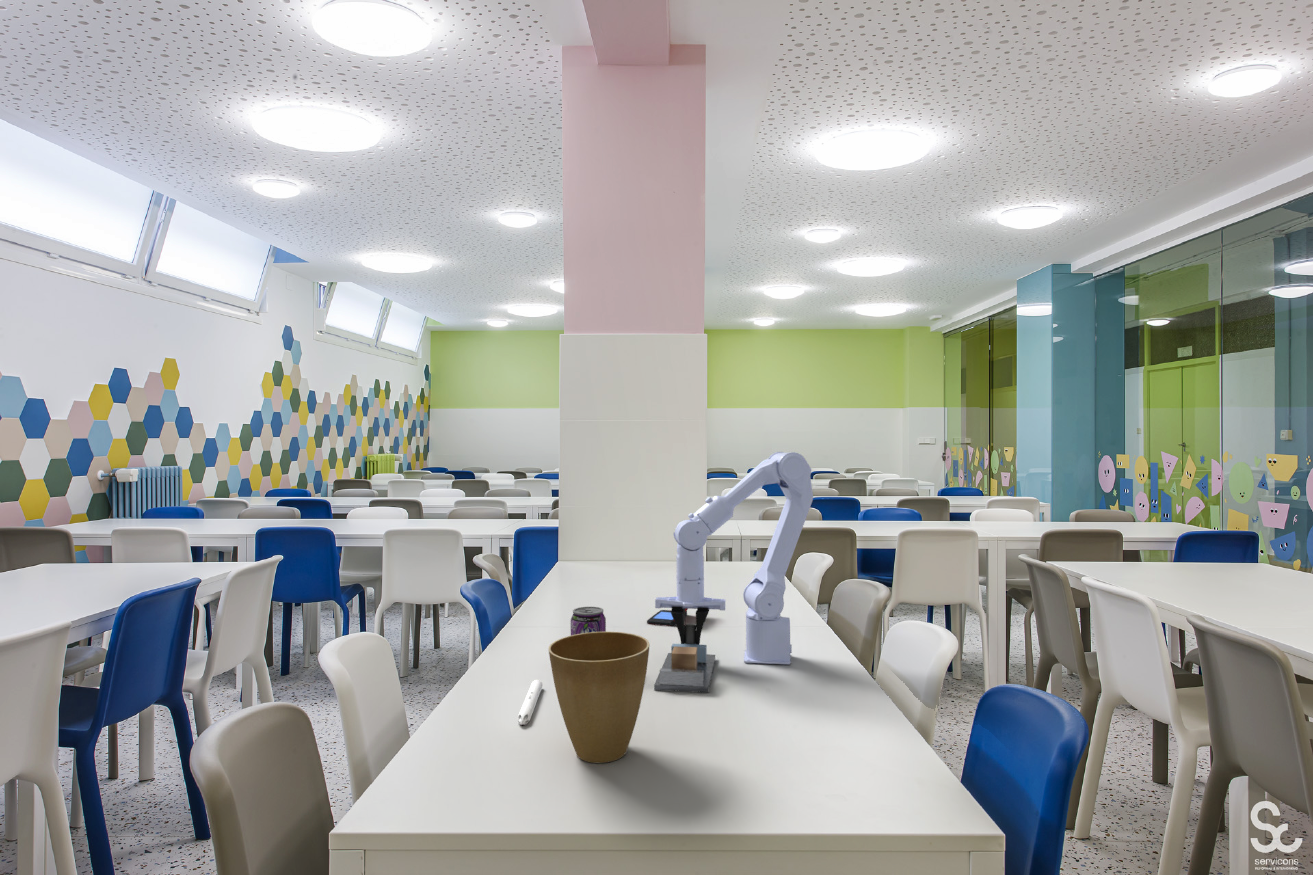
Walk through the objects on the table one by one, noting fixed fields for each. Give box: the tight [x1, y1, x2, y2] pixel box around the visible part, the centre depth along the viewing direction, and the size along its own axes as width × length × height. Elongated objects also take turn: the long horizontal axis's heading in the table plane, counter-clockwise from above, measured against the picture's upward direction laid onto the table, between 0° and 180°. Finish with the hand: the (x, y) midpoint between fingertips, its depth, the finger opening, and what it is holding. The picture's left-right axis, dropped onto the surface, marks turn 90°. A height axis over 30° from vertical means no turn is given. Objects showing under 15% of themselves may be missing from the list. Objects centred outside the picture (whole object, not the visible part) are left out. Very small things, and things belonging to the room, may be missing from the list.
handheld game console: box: [646, 608, 689, 627], centre depth 182 cm, size 12×11×7 cm
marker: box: [517, 679, 543, 726], centre depth 122 cm, size 18×2×2 cm, turn 2°
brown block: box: [670, 647, 697, 670], centre depth 135 cm, size 4×4×5 cm
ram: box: [670, 623, 708, 663], centre depth 145 cm, size 6×7×6 cm
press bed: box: [653, 652, 716, 694], centre depth 139 cm, size 20×10×4 cm, turn 171°
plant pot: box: [547, 631, 651, 764], centre depth 104 cm, size 15×15×16 cm
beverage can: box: [570, 606, 607, 636], centre depth 142 cm, size 7×7×12 cm
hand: (690, 643), depth 147 cm, fingers closed on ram, 2 cm apart
